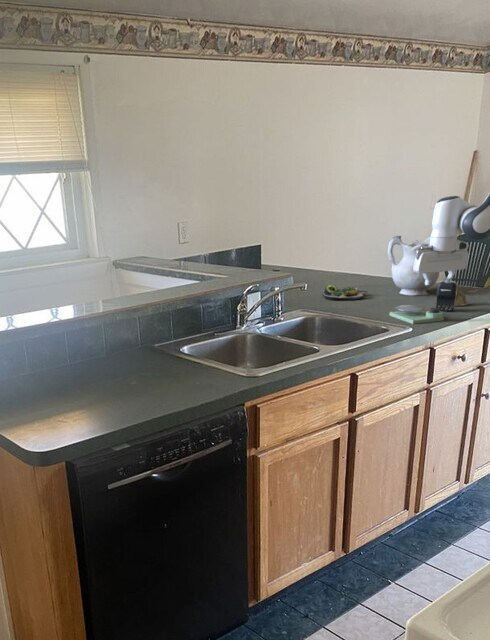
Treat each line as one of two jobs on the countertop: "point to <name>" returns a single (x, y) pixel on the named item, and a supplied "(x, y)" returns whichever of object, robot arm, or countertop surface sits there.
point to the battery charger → (446, 296)
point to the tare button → (434, 310)
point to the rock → (460, 297)
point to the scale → (418, 316)
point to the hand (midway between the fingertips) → (437, 283)
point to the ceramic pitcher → (409, 268)
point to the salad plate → (342, 293)
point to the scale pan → (409, 308)
